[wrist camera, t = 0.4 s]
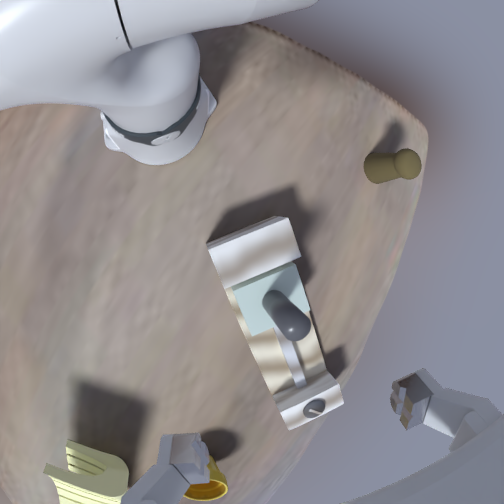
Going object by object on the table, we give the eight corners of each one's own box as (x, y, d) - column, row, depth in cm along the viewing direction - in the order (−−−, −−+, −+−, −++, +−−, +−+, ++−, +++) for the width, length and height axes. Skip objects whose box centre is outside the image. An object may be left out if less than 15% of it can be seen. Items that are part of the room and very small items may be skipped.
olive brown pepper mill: (390, 159, 50) (428, 153, 39) (385, 188, 51) (423, 186, 40) (366, 148, 49) (403, 138, 38) (361, 177, 49) (399, 173, 39)
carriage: (228, 283, 45) (246, 317, 31) (285, 258, 47) (325, 281, 33) (246, 325, 47) (269, 370, 33) (300, 301, 49) (340, 335, 35)
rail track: (205, 243, 45) (208, 250, 38) (274, 215, 47) (289, 217, 40) (279, 410, 54) (290, 432, 47) (329, 386, 55) (345, 405, 48)
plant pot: (225, 468, 54) (231, 498, 45) (183, 473, 52) (186, 503, 43) (217, 444, 52) (223, 476, 43) (172, 449, 50) (173, 481, 41)
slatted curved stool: (125, 497, 51) (122, 544, 34) (72, 481, 47) (62, 525, 30) (133, 439, 48) (126, 501, 31) (66, 417, 44) (43, 472, 27)
